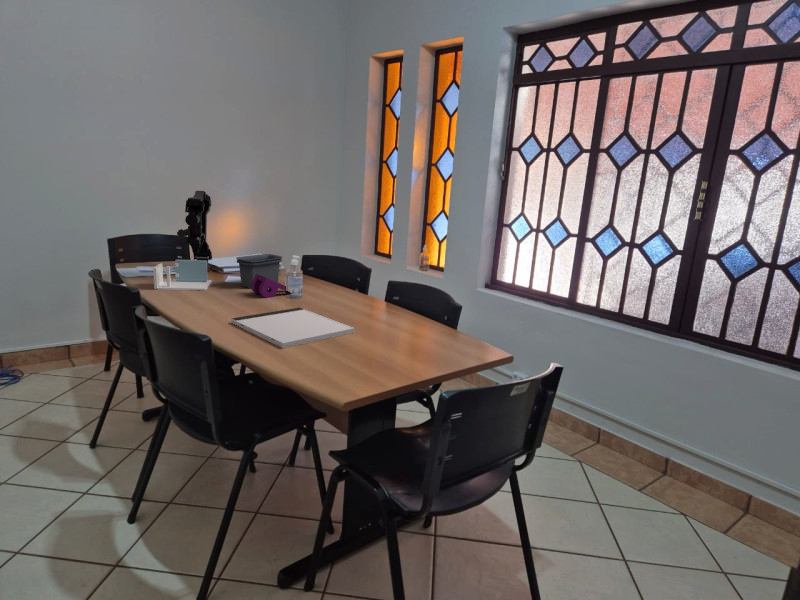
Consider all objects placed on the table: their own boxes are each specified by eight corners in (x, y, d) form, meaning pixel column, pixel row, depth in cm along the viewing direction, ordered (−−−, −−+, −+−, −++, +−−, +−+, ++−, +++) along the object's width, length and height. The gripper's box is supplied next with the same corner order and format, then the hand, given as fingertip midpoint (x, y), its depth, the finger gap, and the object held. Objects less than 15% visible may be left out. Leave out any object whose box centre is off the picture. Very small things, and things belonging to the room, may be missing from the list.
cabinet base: (164, 281, 259) (163, 259, 256) (211, 282, 263) (211, 261, 261) (154, 289, 241) (153, 267, 238) (205, 290, 245) (205, 268, 243)
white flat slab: (231, 318, 199) (300, 307, 221) (231, 324, 200) (300, 312, 222) (283, 343, 176) (354, 328, 197) (283, 350, 176) (354, 334, 198)
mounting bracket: (279, 302, 256) (248, 290, 243) (286, 286, 257) (255, 273, 244) (290, 307, 250) (259, 295, 237) (297, 290, 250) (266, 277, 238)
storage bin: (250, 290, 251) (250, 261, 248) (230, 285, 260) (230, 256, 257) (285, 285, 268) (285, 257, 265) (265, 279, 277) (265, 252, 273)
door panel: (177, 279, 257) (176, 259, 255) (207, 280, 260) (207, 260, 258) (175, 281, 253) (174, 261, 251) (206, 282, 256) (205, 262, 254)
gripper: (181, 221, 270) (182, 251, 274) (174, 225, 253) (175, 257, 256) (204, 222, 273) (205, 252, 276) (198, 226, 255) (199, 258, 259)
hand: (196, 254), depth 267 cm, fingers open, 6 cm apart
